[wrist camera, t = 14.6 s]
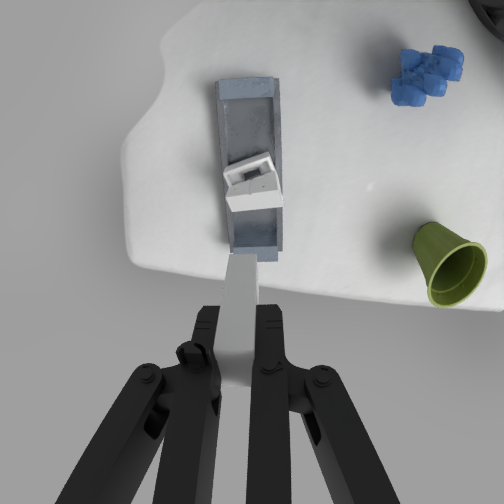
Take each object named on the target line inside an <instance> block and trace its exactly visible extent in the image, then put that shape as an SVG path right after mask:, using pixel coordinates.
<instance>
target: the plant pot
mask: <svg viewBox="0 0 504 504" xmlns="http://www.w3.org/2000/svg"><path fill="white" fill-rule="evenodd" d="M413 251H414V253H415V256H416V258H417V260H418V262H419V265H420V267H421V269H422V272H423V274H424V276H425V279H426V285H427V287H428V290H427V292H428V298H429V300H430V302H431V303H432V304H433V305H434V306H436V307H439V308H448V307H452V306H455V305H457V304H459V303H461V302H462V301H464V300H465V299H466V298H468V297H469V296H470V295H471V294H472V293H473V292H474V291H475V290H476V288H477V287H478V286H479V284H480V282H481V281H482V279H483V277H484V274H485V272H486V268H487V253H486V251H485V249H484V247H483V246H482V245H480V244H479V243H476V242H470V241H469V240H466V239H463V238H462V237H460V236H459V235H457V234H456V233H454V232H452V231H451V230H449V229H447V228H446V227H444V226H443V225H441V224H439V223H436V222H431V223H428V224H425V225H424V226H422V227H421V229H420V230H419V232H418V233H417V234H416V235H415V237H414V240H413Z"/></svg>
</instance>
